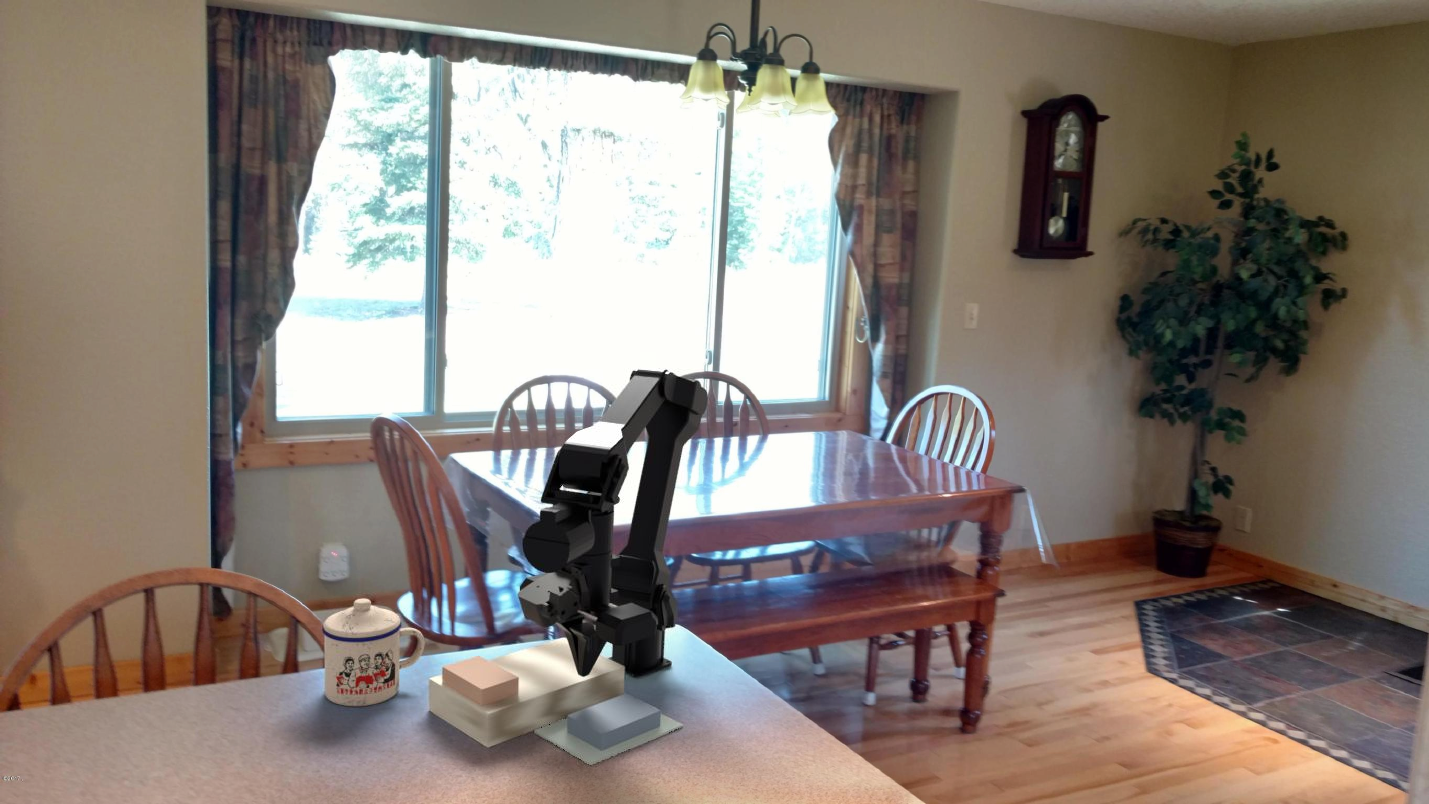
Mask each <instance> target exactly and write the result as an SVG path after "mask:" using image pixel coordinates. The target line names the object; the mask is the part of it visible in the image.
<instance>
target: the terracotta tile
mask: <svg viewBox="0 0 1429 804" xmlns="http://www.w3.org/2000/svg"><path fill="white" fill-rule="evenodd" d="M441 669H442V670H441V671H442V674H441V675H442V683H443V684H445V685H447V686H448V687H450V688H452V689H453V690H455V691H457V692H458V693H460V694H462V695H464V696H465V697H467V698H469V699H470V700H472V701H474V702H475V703H477V704H479V705H480V706H484V705H487V704H490V703H493V702H496V701H499V700H502V699H505V698H507V697H510V696H513V695H516V694H518V689H519V677H517V676H515V675H513V674H512V673H510V672H508V671H506V670H504V669H502V668H501V667H499V666H497V665H495V664H493V663H491V662H489V661H488V659H486V658H484V657H482V656H480V655H476V656H473V657H470V658H466V659H463V660H460V661H457V662H454V663H450V664H447V665H444V666H442V668H441Z"/></svg>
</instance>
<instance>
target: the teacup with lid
mask: <svg viewBox="0 0 1429 804" xmlns="http://www.w3.org/2000/svg"><path fill="white" fill-rule="evenodd" d="M321 629H322V634H323V635H324V641H323V642H324V695H325V697H326V698H327V699H328V700H329V701H330V702H332V703H334V704H336V705H341V706H346V707H364V706H367V707H368V706H371V705H372V706H373V705H377V704H381V703H383V702H385V701H387V700H390V699H391V698H392V697H394V696H395V695H396V694H397V692H399V689H400V670H403V669H406V668H409V667H411V666H413V665H414V664H416V663H417V662H418V661H419V659H420V658H421V656H422V654H423V652H424V649H425V638H424V635H423V634H422V632H421V631H420V630H419V629H416V628H415V627H414V628H413V627H402V620H401V618H400V616H399V615H398V614H397V613H396V612H395V611H393V610H389V609H387V608H382V607H378V606H375V605H372V601H371V600H370V599H368V598H357V599H355V600H354V601H353V606H350V607H348V608H346V609H344V610H341V611H338V612H335V613H333V614H332V615H329V616H328V617H327V618H326V620H324V622H323V625H322V628H321ZM403 636H414V637H416V638H417V645H416V648H415V649H414V652H413V653H412V654H411V656H409V657H408V658H407V659H403V660H400V637H403Z"/></svg>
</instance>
